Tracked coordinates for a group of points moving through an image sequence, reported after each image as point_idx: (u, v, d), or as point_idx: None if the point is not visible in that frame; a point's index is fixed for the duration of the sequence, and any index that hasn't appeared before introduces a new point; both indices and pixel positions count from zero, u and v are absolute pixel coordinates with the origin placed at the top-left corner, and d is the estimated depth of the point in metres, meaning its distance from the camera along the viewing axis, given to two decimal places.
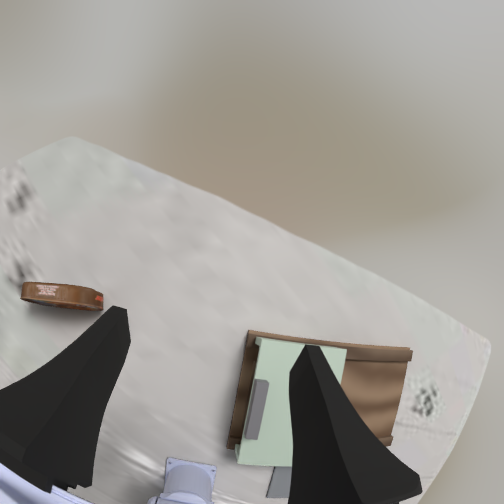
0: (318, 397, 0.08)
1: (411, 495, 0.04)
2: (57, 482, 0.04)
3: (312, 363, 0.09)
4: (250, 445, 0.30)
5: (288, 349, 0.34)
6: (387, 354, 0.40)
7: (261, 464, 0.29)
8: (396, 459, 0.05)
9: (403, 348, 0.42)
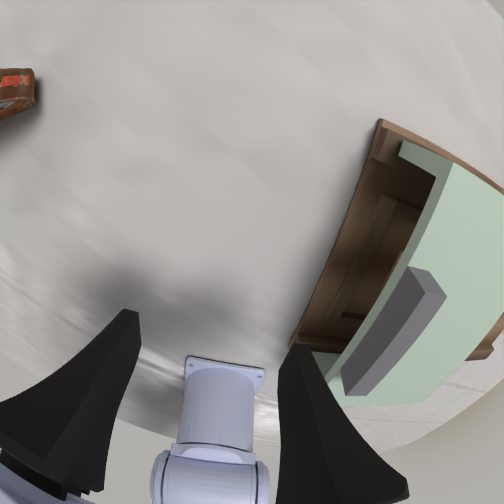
0: (304, 396, 0.08)
1: (397, 500, 0.04)
2: (72, 490, 0.04)
3: (299, 362, 0.09)
4: (342, 385, 0.17)
5: (490, 205, 0.09)
6: None
7: (347, 406, 0.18)
8: (383, 462, 0.05)
9: None
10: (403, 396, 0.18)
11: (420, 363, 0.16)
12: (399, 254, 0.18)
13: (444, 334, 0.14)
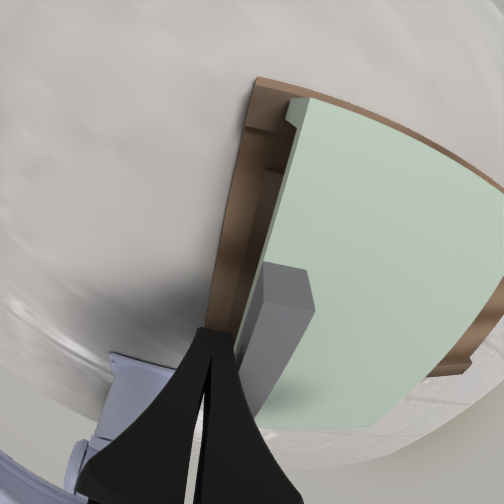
0: (210, 385, 0.08)
1: None
2: None
3: (213, 349, 0.09)
4: None
5: (411, 166, 0.07)
6: None
7: (261, 426, 0.16)
8: (277, 471, 0.05)
9: None
10: (335, 421, 0.16)
11: (343, 388, 0.13)
12: None
13: (370, 357, 0.12)
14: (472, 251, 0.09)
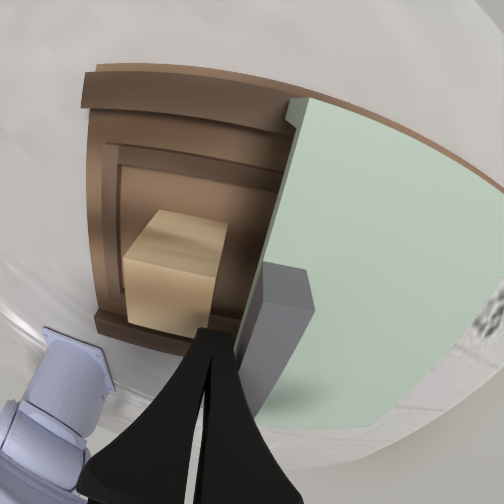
0: (210, 385, 0.08)
1: None
2: None
3: (212, 349, 0.09)
4: None
5: (411, 166, 0.07)
6: None
7: (261, 426, 0.16)
8: (277, 471, 0.05)
9: None
10: (336, 421, 0.16)
11: (343, 388, 0.13)
12: None
13: (370, 357, 0.12)
14: (472, 251, 0.09)
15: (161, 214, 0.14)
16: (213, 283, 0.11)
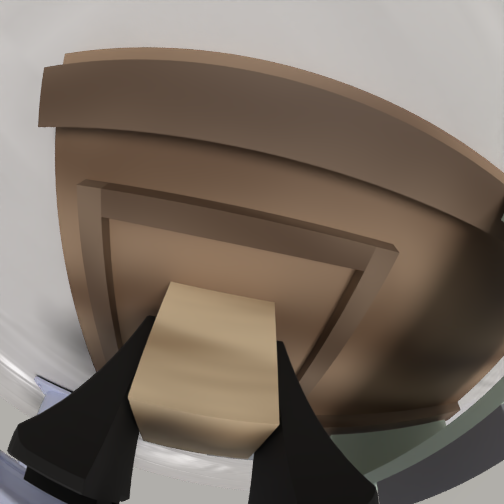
0: None
1: None
2: (103, 503, 0.04)
3: None
4: None
5: None
6: None
7: None
8: (351, 467, 0.05)
9: None
10: None
11: None
12: None
13: None
14: None
15: (175, 292, 0.10)
16: (274, 428, 0.06)
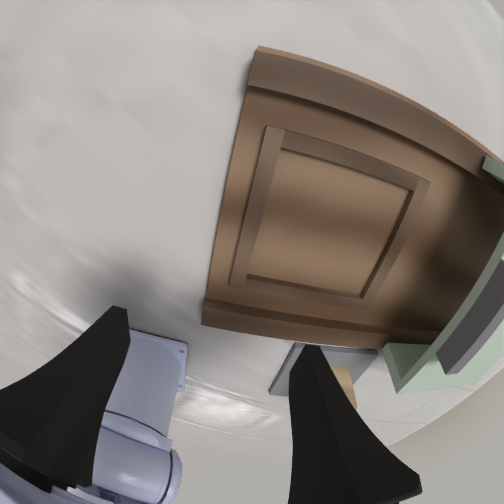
0: (318, 397, 0.08)
1: (411, 495, 0.04)
2: (57, 482, 0.04)
3: (312, 363, 0.09)
4: (430, 369, 0.16)
5: None
6: None
7: (424, 390, 0.18)
8: (396, 459, 0.05)
9: None
10: (465, 378, 0.18)
11: (486, 345, 0.15)
12: None
13: None
14: None
15: None
16: (355, 409, 0.21)
